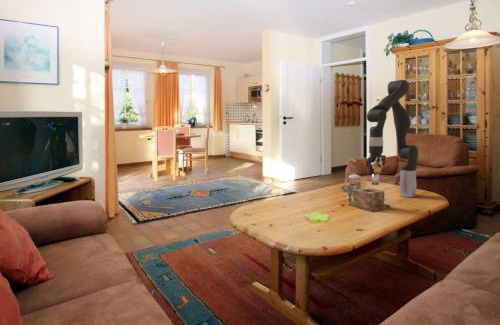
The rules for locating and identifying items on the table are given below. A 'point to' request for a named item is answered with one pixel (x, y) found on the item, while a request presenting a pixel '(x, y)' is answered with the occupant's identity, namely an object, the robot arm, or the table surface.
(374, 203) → the hitch block
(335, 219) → the table surface
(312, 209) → the table surface
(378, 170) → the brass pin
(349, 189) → the mechanical component
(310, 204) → the table surface
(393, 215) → the table surface
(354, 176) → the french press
